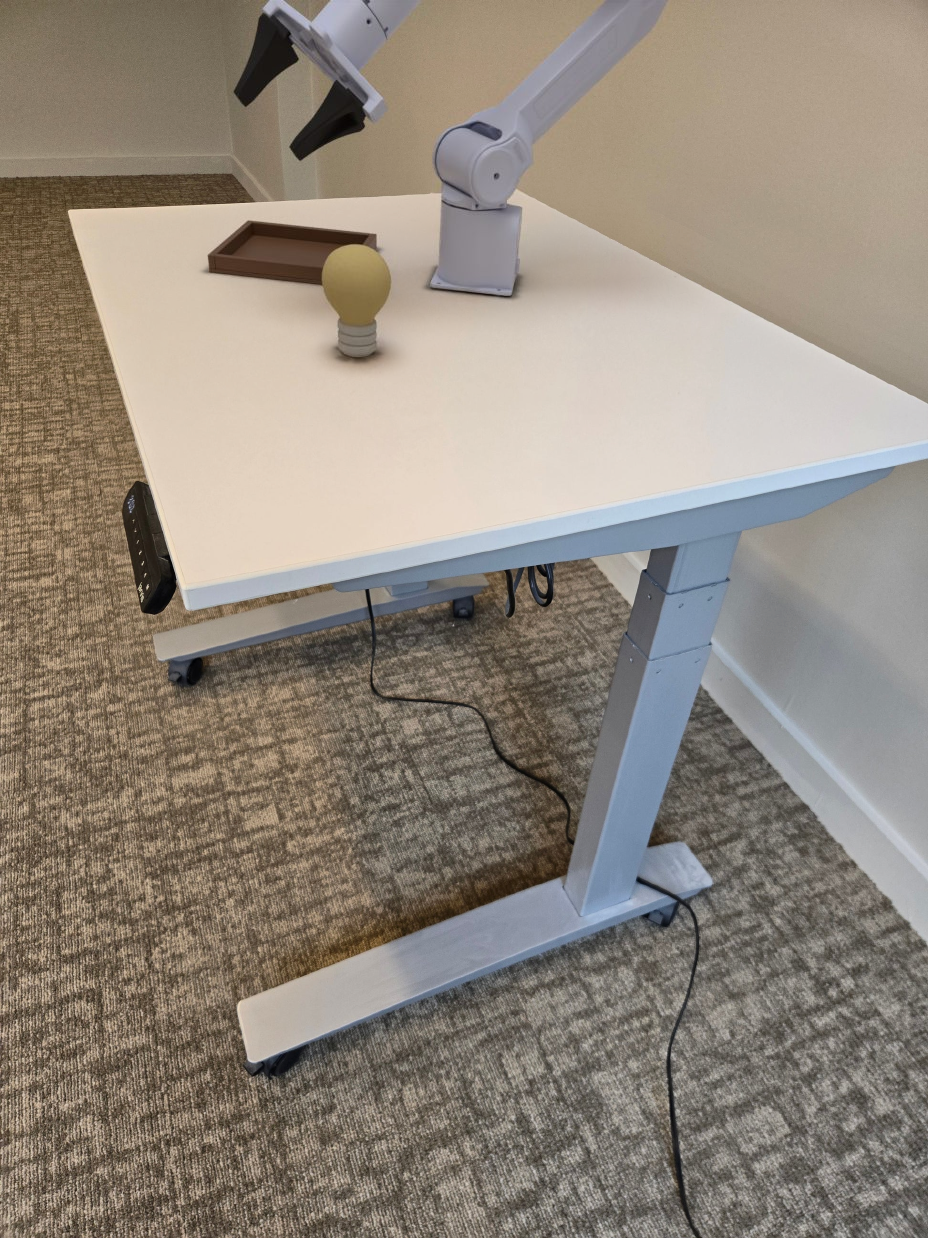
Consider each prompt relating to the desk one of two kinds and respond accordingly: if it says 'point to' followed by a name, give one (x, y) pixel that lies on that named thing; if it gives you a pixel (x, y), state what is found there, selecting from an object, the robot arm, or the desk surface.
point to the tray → (282, 250)
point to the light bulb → (356, 295)
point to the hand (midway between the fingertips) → (266, 126)
